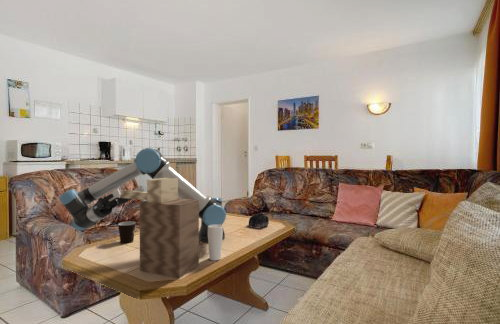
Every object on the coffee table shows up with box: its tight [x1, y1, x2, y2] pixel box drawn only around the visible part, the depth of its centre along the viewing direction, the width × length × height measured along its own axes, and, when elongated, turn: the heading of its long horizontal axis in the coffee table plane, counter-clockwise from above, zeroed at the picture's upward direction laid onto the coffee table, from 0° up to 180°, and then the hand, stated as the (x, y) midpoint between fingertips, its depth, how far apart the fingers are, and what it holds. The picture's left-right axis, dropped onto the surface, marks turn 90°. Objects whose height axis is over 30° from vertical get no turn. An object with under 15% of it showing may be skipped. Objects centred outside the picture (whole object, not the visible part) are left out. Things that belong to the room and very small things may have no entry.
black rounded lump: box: [248, 212, 270, 228], centre depth 186 cm, size 13×14×10 cm
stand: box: [139, 198, 200, 279], centre depth 115 cm, size 19×14×28 cm
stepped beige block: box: [119, 178, 179, 203], centre depth 119 cm, size 25×11×9 cm, turn 70°
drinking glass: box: [207, 224, 224, 262], centre depth 126 cm, size 7×7×15 cm
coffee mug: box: [117, 221, 136, 245], centre depth 151 cm, size 12×9×10 cm
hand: (131, 189), depth 122 cm, fingers open, 13 cm apart
